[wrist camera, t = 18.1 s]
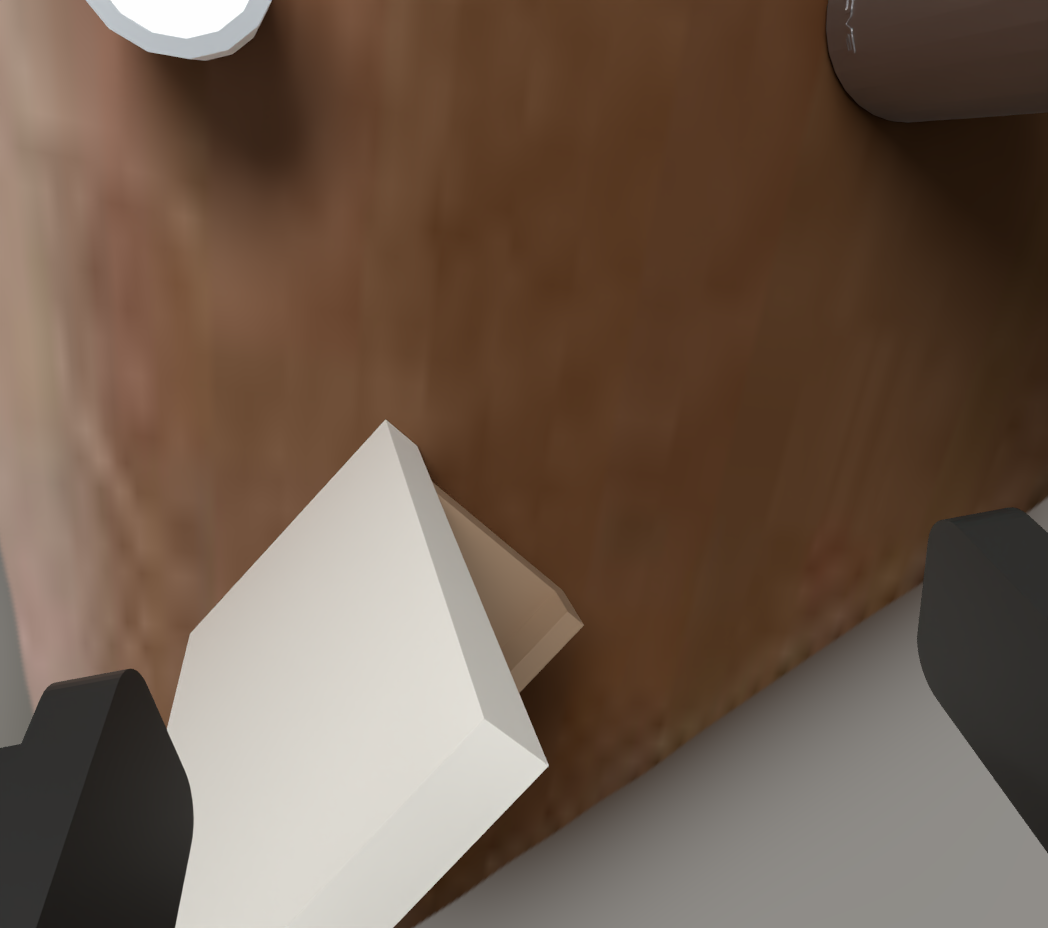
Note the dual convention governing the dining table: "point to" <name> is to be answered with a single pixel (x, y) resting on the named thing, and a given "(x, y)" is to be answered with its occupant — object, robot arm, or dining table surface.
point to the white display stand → (359, 703)
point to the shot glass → (184, 24)
